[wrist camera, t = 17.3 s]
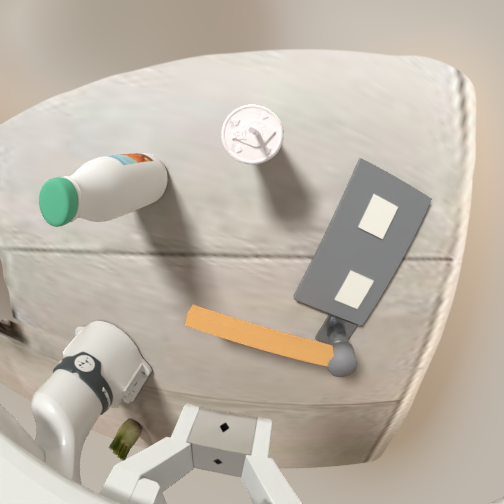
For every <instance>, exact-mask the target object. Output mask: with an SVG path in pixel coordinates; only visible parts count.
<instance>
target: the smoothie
mask: <svg viewBox="0 0 504 504" xmlns="http://www.w3.org/2000/svg"><path fill="white" fill-rule="evenodd" d="M221 137H222V142H223V145H224V148H225V149H226V151H227V152H228V154H229V155H230V156H231V157H233V158H234V159H236V160H237V161H239V162H242V163H245V164H260V163H264V162H266V161H268V160H270V159H271V158H273V157H274V156H275V155H276V154H277V153H278V151H279V150H280V148H281V146H282V143H283V138H284V131H283V126H282V124H281V122H280V120H279V118H278V117H277V116H276V115H275V114H274V113H273V112H272V111H271V110H269V109H268V108H266V107H263V106H260V105H245V106H242V107H239V108H237V109H236V110H234V111H233V112H232V113H230V114H229V116H228V117H227V118H226V120H225V122H224V124H223V127H222V133H221Z"/></svg>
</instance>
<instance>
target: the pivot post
mask: <svg viewBox="0 0 504 504" xmlns="http://www.w3.org/2000/svg"><path fill="white" fill-rule="evenodd" d="M356 327H357V324H355V323H353V322H350V321H348V320H345V319H342V318H340V317H337V316H335V315H332V314H329V316H328V317H327V319H326V320H325V322H324V324H323V325H322V327H321V329H320V330H319V332H318V333H317V335H316V337H315V339H316V340H319V341H322V342H325V343H327V344H329V345H332V344H334V343H337V342H348V338H349V337H350V336H351V334H352V333H353V331H354V330H355V328H356Z"/></svg>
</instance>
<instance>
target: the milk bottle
mask: <svg viewBox="0 0 504 504" xmlns="http://www.w3.org/2000/svg"><path fill="white" fill-rule="evenodd" d="M167 179H168V177H167V171H166V168H165V166H164V164H163V163H162V161H161V160H160V159H159V158H157V157H156V156H154V155H152V154H147V153H139V154H123V155H112V156H104V157H99V158H96V159H93V160H90V161H88V162H86V163H85V164H83V165H82V166H81V167H80V168H79V169H78V170H77V171H76V172H75V173H74V174H73V175H72V176H70V177H68V176H63V177H58V178H53V179H50V180H48V181H47V182H46V183H45V184H44V185H43V186H42V188H41V191H40V196H39V205H40V210H41V213H42V215H43V217H44V219H45V220H46V221H47V222H48V223H49V224H50V225H52V226H56V227H58V226H62V225H65V224H67V223H69V222H72V221H74V220H76V219H77V218H83V219H86V220H89V221H95V222H102V221H108V220H112V219H115V218H118V217H120V216H123V215H125V214H128V213H130V212H133V211H135V210H137V209H140V208H142V207H145V206H147V205H149V204H152V203H154V202H156V201H157V200H158V199H160V197H161V196H162V195H163V193H164V192H165V189H166V186H167Z"/></svg>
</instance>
